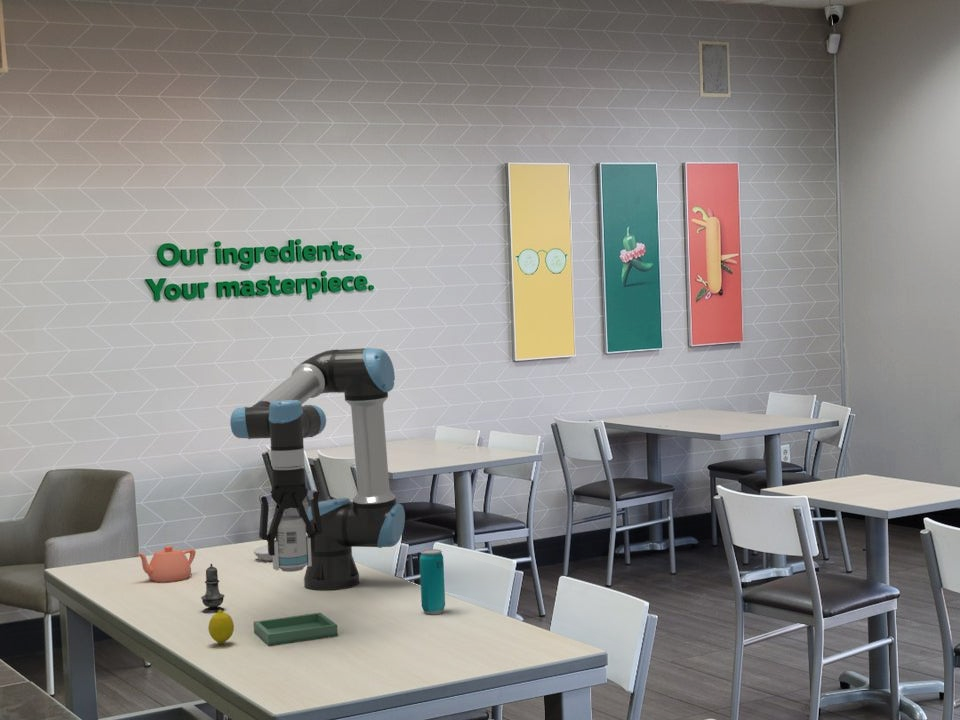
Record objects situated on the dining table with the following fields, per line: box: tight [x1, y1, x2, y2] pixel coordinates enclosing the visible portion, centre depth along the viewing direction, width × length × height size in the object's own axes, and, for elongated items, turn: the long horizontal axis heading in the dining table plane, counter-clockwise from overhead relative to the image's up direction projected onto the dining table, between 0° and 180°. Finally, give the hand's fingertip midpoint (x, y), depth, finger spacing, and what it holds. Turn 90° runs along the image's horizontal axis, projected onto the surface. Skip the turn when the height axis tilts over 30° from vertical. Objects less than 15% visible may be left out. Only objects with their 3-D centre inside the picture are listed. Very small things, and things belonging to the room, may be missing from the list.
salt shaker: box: [200, 563, 225, 614], centre depth 300 cm, size 6×6×12 cm
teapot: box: [135, 545, 196, 583], centre depth 342 cm, size 12×18×10 cm
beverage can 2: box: [419, 548, 446, 615], centre depth 288 cm, size 6×6×15 cm
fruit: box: [208, 609, 235, 646], centre depth 266 cm, size 6×6×8 cm
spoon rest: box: [253, 532, 308, 562], centre depth 369 cm, size 24×12×7 cm, turn 119°
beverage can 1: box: [275, 515, 307, 573], centre depth 272 cm, size 7×7×12 cm
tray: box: [253, 612, 339, 647], centre depth 273 cm, size 16×14×2 cm
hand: (292, 567), depth 272 cm, fingers closed on beverage can 1, 7 cm apart
